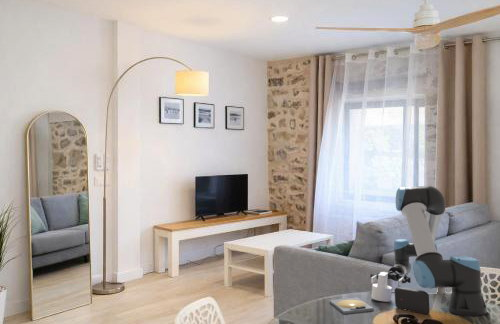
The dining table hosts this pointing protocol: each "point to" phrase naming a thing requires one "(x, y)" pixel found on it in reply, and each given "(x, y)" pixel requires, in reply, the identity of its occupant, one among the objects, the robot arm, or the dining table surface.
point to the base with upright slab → (381, 288)
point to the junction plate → (351, 305)
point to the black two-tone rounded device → (412, 300)
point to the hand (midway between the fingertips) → (385, 282)
